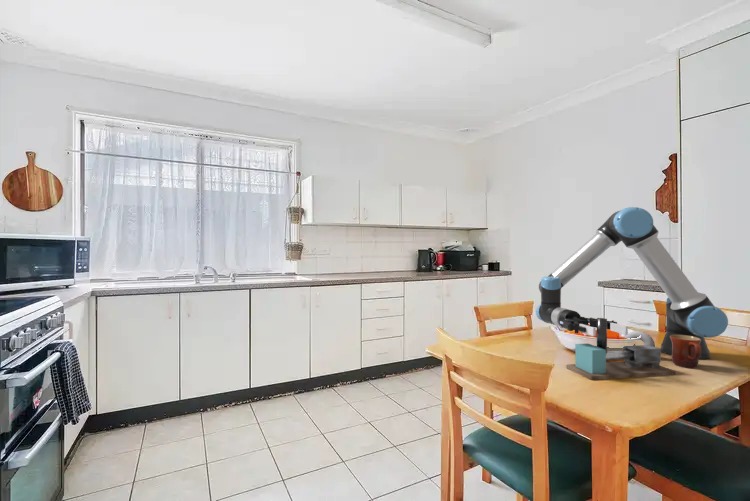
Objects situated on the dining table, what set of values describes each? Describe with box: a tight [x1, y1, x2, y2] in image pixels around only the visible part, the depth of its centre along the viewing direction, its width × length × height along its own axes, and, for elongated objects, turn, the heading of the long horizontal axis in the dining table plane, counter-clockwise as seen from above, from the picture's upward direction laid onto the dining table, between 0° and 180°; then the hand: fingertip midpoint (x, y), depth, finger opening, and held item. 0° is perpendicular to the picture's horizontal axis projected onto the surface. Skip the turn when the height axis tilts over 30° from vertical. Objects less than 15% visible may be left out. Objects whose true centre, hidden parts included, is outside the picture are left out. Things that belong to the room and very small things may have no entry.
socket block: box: [574, 343, 607, 374], centre depth 125 cm, size 5×8×8 cm, turn 9°
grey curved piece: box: [624, 330, 656, 347], centre depth 144 cm, size 10×4×10 cm, turn 40°
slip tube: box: [596, 317, 634, 362], centre depth 126 cm, size 18×3×14 cm, turn 99°
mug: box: [670, 335, 701, 369], centre depth 131 cm, size 12×9×10 cm
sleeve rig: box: [565, 344, 677, 381], centre depth 127 cm, size 32×12×8 cm, turn 99°
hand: (610, 331), depth 122 cm, fingers open, 11 cm apart
